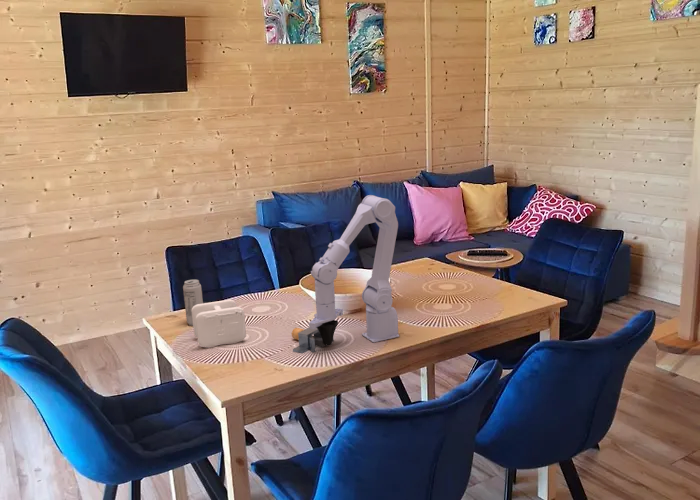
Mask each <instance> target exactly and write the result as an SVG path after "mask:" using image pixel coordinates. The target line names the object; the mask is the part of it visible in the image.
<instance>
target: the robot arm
mask: <svg viewBox="0 0 700 500" xmlns="http://www.w3.org/2000/svg"><path fill="white" fill-rule="evenodd" d="M373 223H375V224H376V225H377V226H378V227H379V230H378V236H377V243H376V249H375V254H374V261H373V266H372V270H371V271H372V272H371V277H370V278H369V279H368V280H367V281H366V285H365V288H364V289H363V290H362V294H361V300H362V301H363V303H364V304H365V316H366V317H365V318H366V319H365V320H366V332H363V333H361V335H362V337H364V338H366V339H367V340H369V341H370V342H372V343H377V342H382V341H387V340H390V339H394V338H395V339H396V338H399V337H400V335H399V317H398V313H397V310H396V308H395V307H393V301H394V300H393V296H392V291H393V288H392V286H391V283H390V274H391V268H392V263H393V257H394V252H395V246H396V239H397V235H398V229H399V221H398V218H397V216H396V206H395V205H394V204H393V202H392V201H391V200H390V199H389V198H383V197H379V196H376V195H374V194H373V195H372V194H369V195H366V196H365V197H364V198H363V199H362V201H361V202H360V203H359V204H358V206H357V208H356V211H355V213H354V215H353V217H352V218H351V220H350V221H349V223H348V225H347V226H346V227H345V228H346V229H345V230H344V231H343V233H342V235H341V236H340V238H339V239H336V240H333V241H332V242H329V244H328V245H327V247H328V248H327V250H326V251H325V253H324V254H323V256H322V257H320V258H319V259H318V262H315V263H314V265H313V266H312V267H311V270H310V274H311V276H312V278H313V279H314V294H315V296H314V297H315V307H316V308H315V309H316V313H314V316H313V317H314V318H313V319H312V320H311V321H309V322H308V328H309V329H314V330H315V329H318V330H319V332H320V334H321V337H322V340H323V343H324V345H327V346H331V345H332V344H333V342H334V341H333V340H334V336H335V335H334V334H335V332H336V329H337V326H338V325H339V321H338V320H336V319H337V318H338V317H339V316H341V317H342V316H343V315H344V311H343V308H339V307H337V308H336V297H335V296H336V295H335V294H336V293H335V280H336V279H337V277H338V270H339V268H340V266H341V265H342V264H343V262H344V261H345V259H346V258H347V256H349V254H350V253H351V252H350V246H351V244H352V243H353V241H354V240H355V239H356V238H357V237H358V235H359V234H360V232H361V231H362V229H364V228H365V226H366V225H369V224H370V225H371V224H373ZM332 341H333V342H332Z"/></svg>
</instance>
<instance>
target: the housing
mask: <svg viewBox="0 0 700 500" xmlns="http://www.w3.org/2000/svg"><path fill="white" fill-rule="evenodd" d="M311 335H312V336H316V337H320V338H322V337H321V334H320V332H319V330H318V329H315V330H314V329H309V327H307V328H305V329H304V330H303V331H301V332H299V333H298V337H299V340H298V346H296V347H294V348H292V352H294V353H300V354H303V353H305V352H307V351H310V352H311V353H316V346H315V339H314V338H313V337H312V336H311ZM334 340H335V339H333V341H332V343H333V342H334Z"/></svg>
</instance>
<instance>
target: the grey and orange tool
mask: <svg viewBox="0 0 700 500" xmlns="http://www.w3.org/2000/svg"><path fill="white" fill-rule="evenodd" d="M303 330H305V329H304V328H300V327H295V328H293V329H292V331H291V333H290V334H291V337H292V339H294V340H297V341H299V337H298V333H299V332H301V331H303ZM311 336H312V337H313V338H314V339H315V347H318V348H324V347H327V346H328V345H324V343H323V340H322V338H320V337H316V336H314V335H311Z"/></svg>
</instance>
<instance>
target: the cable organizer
mask: <svg viewBox="0 0 700 500" xmlns="http://www.w3.org/2000/svg"><path fill="white" fill-rule="evenodd" d="M245 316H246V315H245V311H244V309H243V308H242V307H240V306H237V303H236V301H235V300H233V299H224V300H219V301H212V302H211V301H209V302H203V304H197V305H195V306H193V308H192V320H193V326H192V327H193V335H194V336H195V338H197V343H198V345H199V346H200V347H203V348H207V349H208V348H214V347H215V348H216V347H217V346H219V345H226V344H227V345H232V344H237V343H239V342H242V341H243V340H245V339H246V337H247V328H246V318H245Z"/></svg>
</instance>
